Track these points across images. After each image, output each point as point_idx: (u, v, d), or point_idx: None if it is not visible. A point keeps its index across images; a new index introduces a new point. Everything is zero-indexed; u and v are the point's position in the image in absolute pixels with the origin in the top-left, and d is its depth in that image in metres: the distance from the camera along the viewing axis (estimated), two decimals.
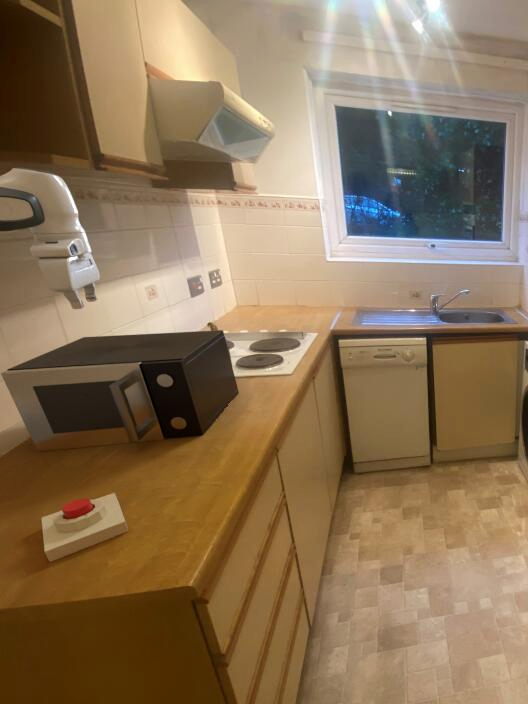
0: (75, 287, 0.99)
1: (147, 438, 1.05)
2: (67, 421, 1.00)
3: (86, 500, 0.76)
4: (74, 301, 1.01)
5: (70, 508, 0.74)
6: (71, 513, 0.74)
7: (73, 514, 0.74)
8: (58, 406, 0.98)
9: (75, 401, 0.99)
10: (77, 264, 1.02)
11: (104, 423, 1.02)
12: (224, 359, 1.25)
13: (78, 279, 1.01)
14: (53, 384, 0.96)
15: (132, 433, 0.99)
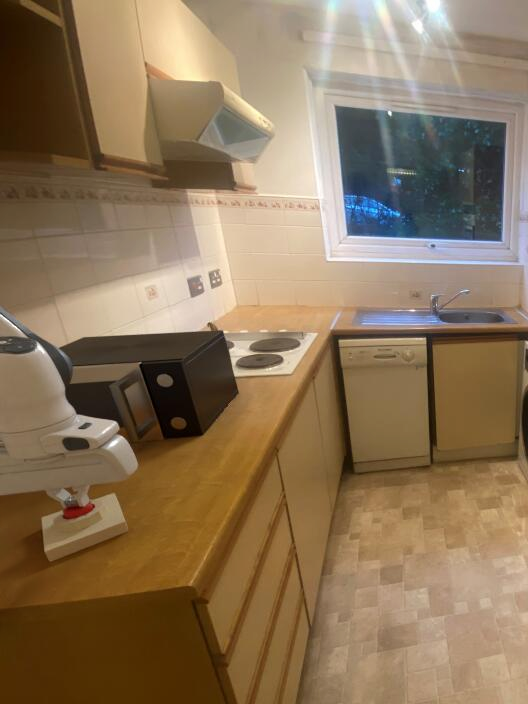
0: None
1: (147, 438, 1.05)
2: None
3: None
4: (84, 495, 0.75)
5: (70, 509, 0.74)
6: (72, 514, 0.74)
7: (74, 515, 0.74)
8: None
9: (75, 401, 0.99)
10: None
11: None
12: (224, 359, 1.25)
13: None
14: None
15: (132, 433, 0.99)
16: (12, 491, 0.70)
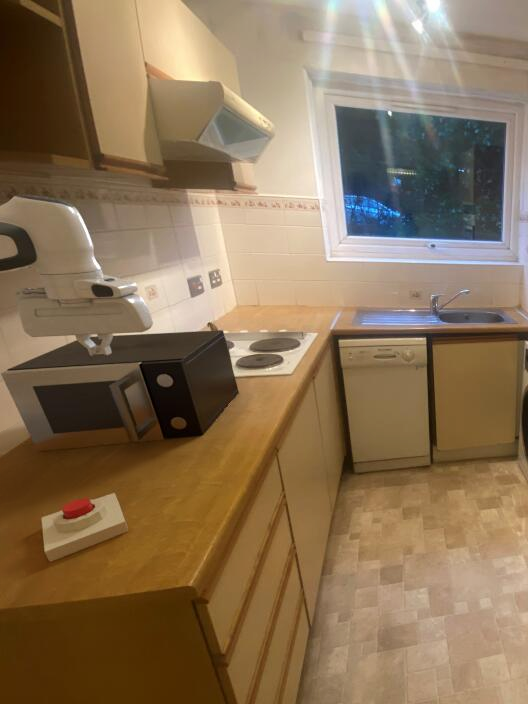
0: None
1: (147, 438, 1.05)
2: (67, 421, 1.00)
3: (86, 500, 0.76)
4: (107, 345, 0.88)
5: (70, 508, 0.74)
6: (71, 513, 0.74)
7: (73, 514, 0.74)
8: (58, 406, 0.98)
9: (75, 401, 0.99)
10: None
11: (104, 423, 1.02)
12: (224, 359, 1.25)
13: None
14: (53, 384, 0.96)
15: (132, 433, 0.99)
16: (48, 333, 0.84)
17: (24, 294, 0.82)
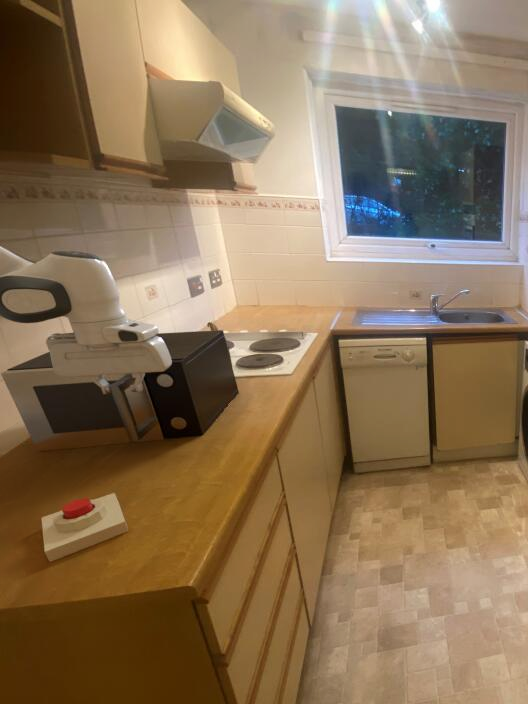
0: None
1: (147, 438, 1.05)
2: (67, 421, 1.00)
3: (86, 500, 0.76)
4: (140, 383, 0.96)
5: (70, 508, 0.74)
6: (71, 513, 0.74)
7: (73, 514, 0.74)
8: (58, 406, 0.98)
9: (75, 401, 0.99)
10: None
11: (104, 423, 1.02)
12: (224, 359, 1.25)
13: None
14: (53, 384, 0.96)
15: (132, 433, 0.99)
16: (77, 374, 0.91)
17: (55, 339, 0.89)
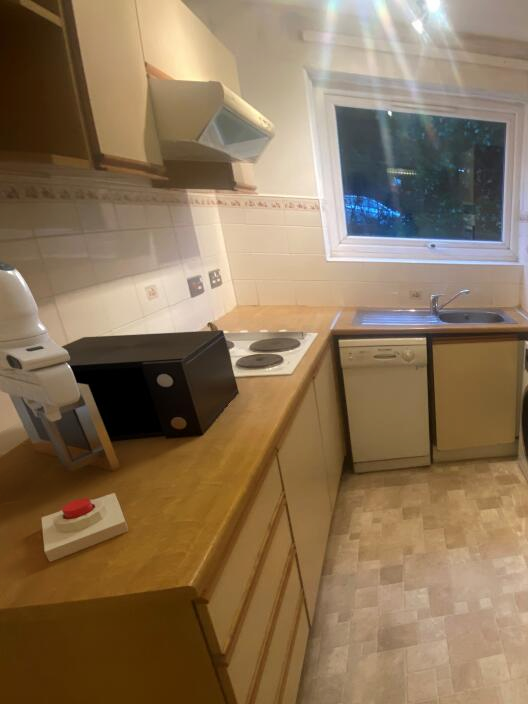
0: None
1: (101, 465, 0.94)
2: (45, 430, 0.96)
3: (86, 500, 0.76)
4: (53, 412, 0.83)
5: (70, 508, 0.74)
6: (71, 513, 0.74)
7: (73, 514, 0.74)
8: None
9: None
10: None
11: (68, 440, 0.94)
12: (224, 359, 1.25)
13: None
14: None
15: (63, 462, 0.87)
16: (7, 391, 0.83)
17: None
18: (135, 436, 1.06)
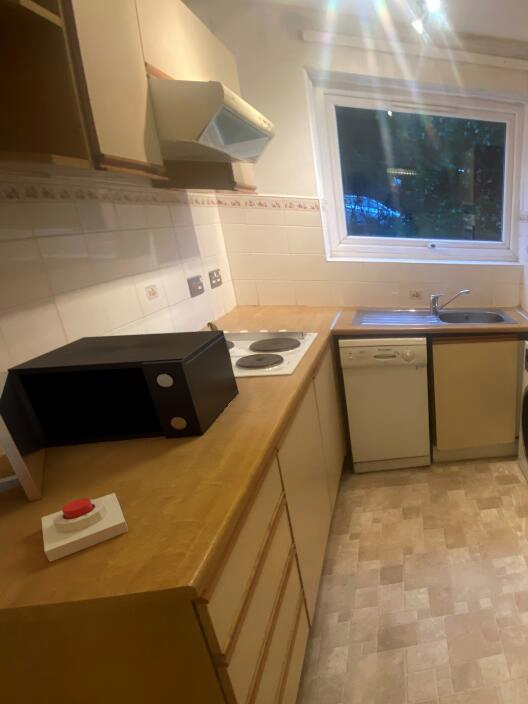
0: None
1: None
2: None
3: (86, 500, 0.76)
4: None
5: (70, 508, 0.74)
6: (71, 513, 0.74)
7: (73, 514, 0.74)
8: None
9: None
10: None
11: None
12: (224, 359, 1.25)
13: None
14: None
15: None
16: None
17: None
18: (135, 436, 1.06)
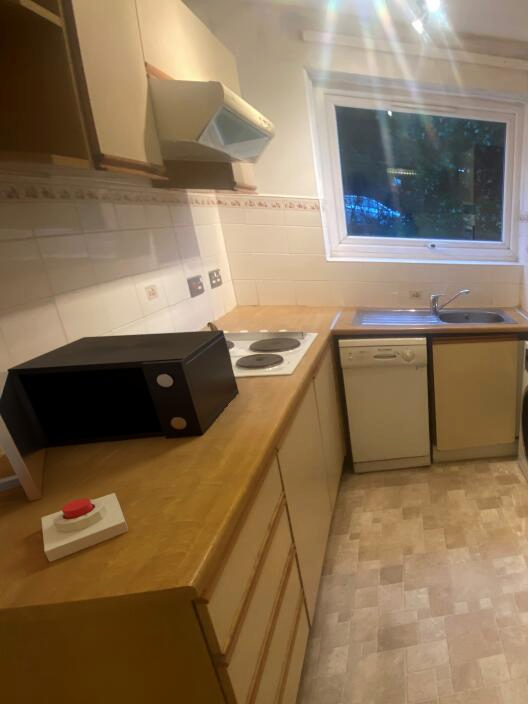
0: None
1: None
2: None
3: (86, 500, 0.76)
4: None
5: (70, 508, 0.74)
6: (71, 513, 0.74)
7: (73, 514, 0.74)
8: None
9: None
10: None
11: None
12: (224, 359, 1.25)
13: None
14: None
15: None
16: None
17: None
18: (135, 436, 1.06)
